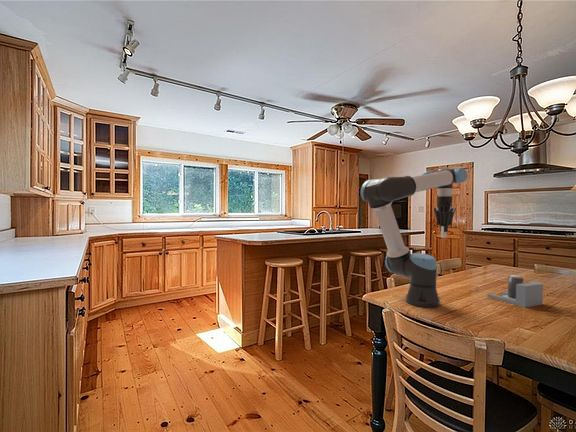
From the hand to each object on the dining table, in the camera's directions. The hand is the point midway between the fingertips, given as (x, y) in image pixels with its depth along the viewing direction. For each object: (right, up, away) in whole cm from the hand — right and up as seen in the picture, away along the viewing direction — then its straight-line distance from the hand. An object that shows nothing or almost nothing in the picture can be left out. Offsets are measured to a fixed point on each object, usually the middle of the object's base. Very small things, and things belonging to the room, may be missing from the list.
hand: (443, 237), depth 168 cm
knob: (+25, -30, -20) cm, 44 cm away
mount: (+24, -30, -19) cm, 43 cm away
